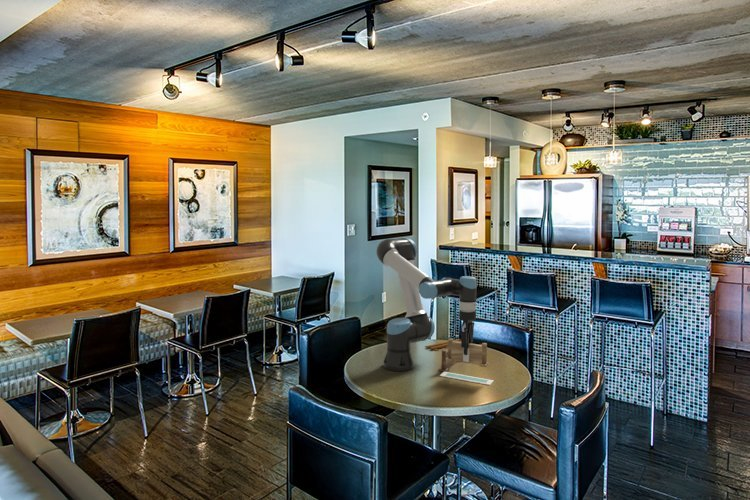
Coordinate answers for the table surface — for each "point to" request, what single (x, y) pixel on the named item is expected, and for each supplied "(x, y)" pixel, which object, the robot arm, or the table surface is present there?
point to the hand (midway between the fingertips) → (466, 360)
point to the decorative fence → (440, 345)
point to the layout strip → (467, 378)
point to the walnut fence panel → (445, 362)
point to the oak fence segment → (475, 353)
